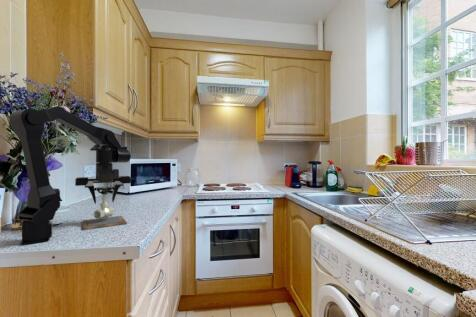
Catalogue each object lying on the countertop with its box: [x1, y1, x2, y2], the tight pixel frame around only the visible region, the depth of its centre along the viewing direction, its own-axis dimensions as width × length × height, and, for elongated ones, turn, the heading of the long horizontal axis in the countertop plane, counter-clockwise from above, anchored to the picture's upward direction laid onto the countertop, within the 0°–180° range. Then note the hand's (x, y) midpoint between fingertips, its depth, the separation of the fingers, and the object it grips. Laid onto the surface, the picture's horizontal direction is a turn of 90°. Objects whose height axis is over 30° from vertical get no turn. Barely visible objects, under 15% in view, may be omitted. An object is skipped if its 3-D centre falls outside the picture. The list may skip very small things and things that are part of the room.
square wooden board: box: [82, 215, 128, 231], centre depth 93 cm, size 14×14×1 cm
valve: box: [93, 186, 115, 220], centre depth 93 cm, size 7×7×12 cm
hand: (104, 202), depth 93 cm, fingers closed on valve, 6 cm apart
